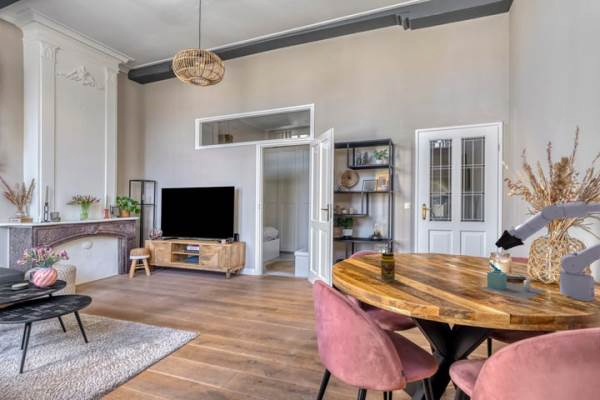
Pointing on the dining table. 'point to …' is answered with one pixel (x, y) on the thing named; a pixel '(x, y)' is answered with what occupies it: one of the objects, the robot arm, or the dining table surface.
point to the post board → (518, 290)
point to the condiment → (387, 267)
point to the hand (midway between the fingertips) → (500, 247)
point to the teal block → (497, 280)
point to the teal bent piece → (495, 268)
